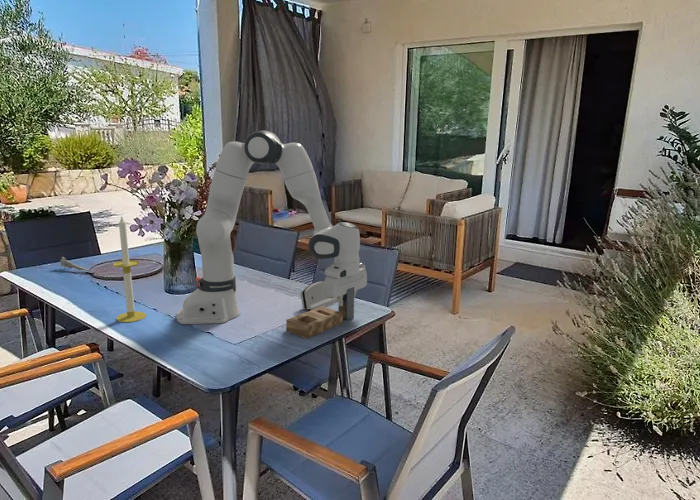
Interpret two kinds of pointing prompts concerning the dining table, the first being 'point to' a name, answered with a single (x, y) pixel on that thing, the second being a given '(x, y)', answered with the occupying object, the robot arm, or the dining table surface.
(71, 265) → the caliper
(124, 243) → the candle
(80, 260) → the dining table surface
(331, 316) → the socket block
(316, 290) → the grey piece
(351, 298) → the steel peg
